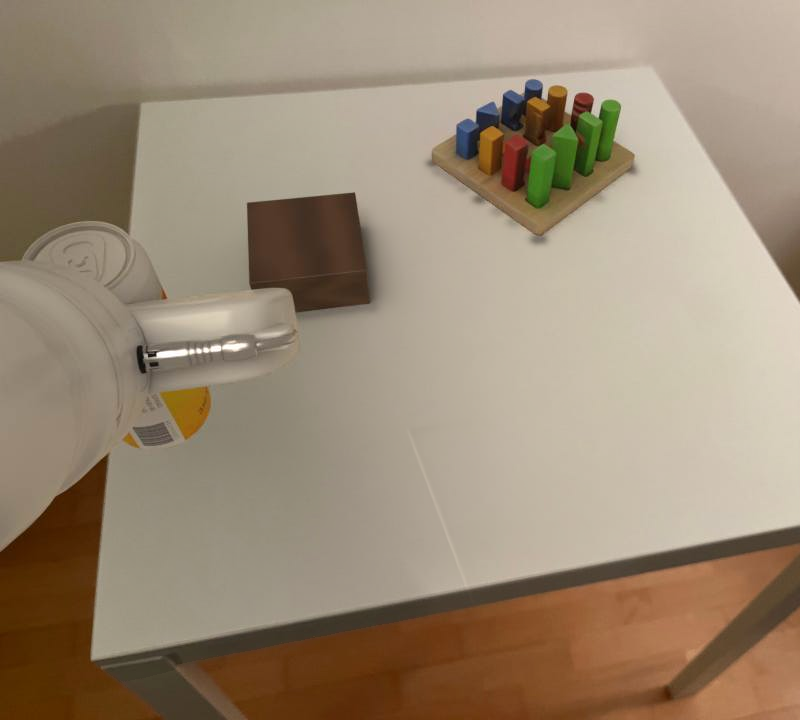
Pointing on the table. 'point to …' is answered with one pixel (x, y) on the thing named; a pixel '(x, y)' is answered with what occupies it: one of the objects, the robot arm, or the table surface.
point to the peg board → (537, 154)
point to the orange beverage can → (130, 282)
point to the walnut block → (309, 250)
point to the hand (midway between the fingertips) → (123, 330)
